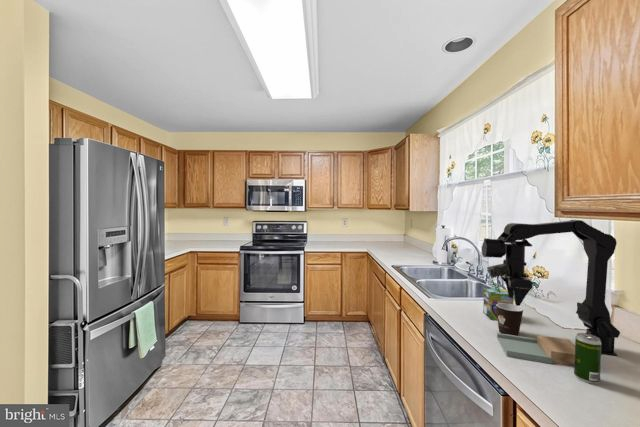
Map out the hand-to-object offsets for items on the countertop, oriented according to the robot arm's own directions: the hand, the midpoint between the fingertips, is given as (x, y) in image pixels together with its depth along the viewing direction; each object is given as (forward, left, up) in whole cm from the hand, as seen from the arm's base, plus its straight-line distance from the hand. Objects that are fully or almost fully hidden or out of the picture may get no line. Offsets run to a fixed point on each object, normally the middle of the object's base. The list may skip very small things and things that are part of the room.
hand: (514, 301), depth 104 cm
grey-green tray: (-1, +7, -14) cm, 16 cm away
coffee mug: (0, -8, -14) cm, 17 cm away
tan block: (-12, +7, -14) cm, 20 cm away
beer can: (-13, +20, -14) cm, 28 cm away
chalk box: (0, -24, -14) cm, 28 cm away
